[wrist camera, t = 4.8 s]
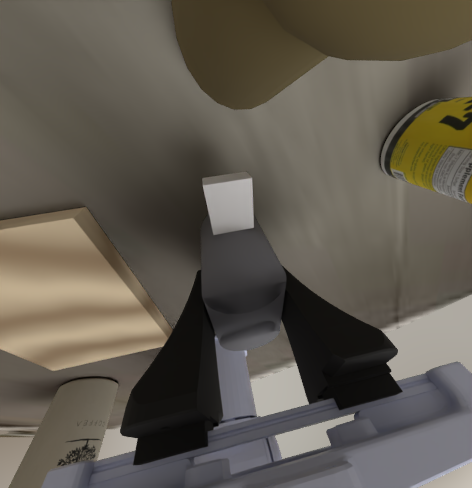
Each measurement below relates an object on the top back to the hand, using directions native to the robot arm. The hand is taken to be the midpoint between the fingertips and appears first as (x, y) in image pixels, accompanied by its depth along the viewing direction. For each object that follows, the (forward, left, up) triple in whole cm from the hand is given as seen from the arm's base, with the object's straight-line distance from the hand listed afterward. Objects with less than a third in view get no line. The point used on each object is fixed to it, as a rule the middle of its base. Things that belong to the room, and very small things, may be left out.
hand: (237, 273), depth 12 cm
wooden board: (-4, +16, -4) cm, 17 cm away
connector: (+1, 0, -2) cm, 2 cm away
